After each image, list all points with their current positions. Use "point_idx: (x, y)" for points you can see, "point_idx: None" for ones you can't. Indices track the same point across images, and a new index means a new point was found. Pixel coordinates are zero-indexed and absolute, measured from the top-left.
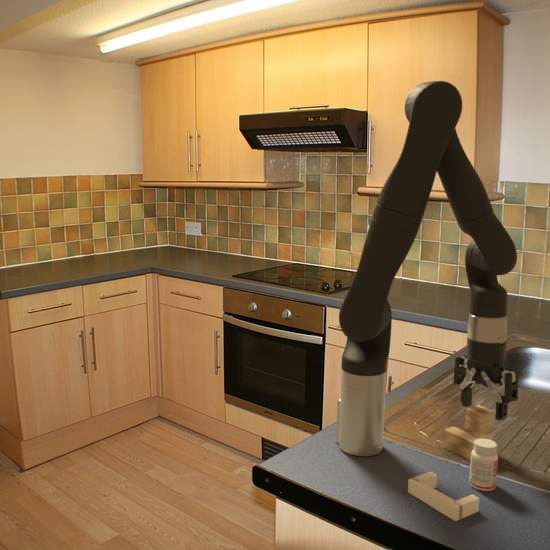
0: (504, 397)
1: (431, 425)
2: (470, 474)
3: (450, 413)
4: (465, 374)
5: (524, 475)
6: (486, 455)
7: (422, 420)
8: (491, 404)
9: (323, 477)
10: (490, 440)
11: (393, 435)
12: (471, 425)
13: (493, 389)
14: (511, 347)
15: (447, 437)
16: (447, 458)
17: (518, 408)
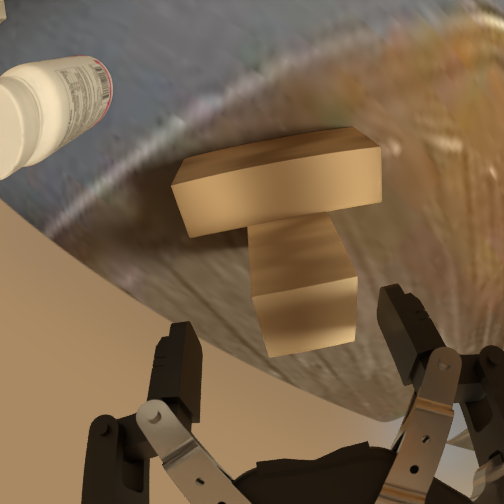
0: (136, 439)
1: (463, 201)
2: (71, 57)
3: (464, 284)
4: (469, 425)
5: (111, 239)
6: None
7: (489, 200)
8: None
9: None
10: (4, 170)
11: (473, 52)
12: (301, 238)
13: (176, 467)
14: None
15: (348, 141)
16: (273, 83)
17: (385, 389)
